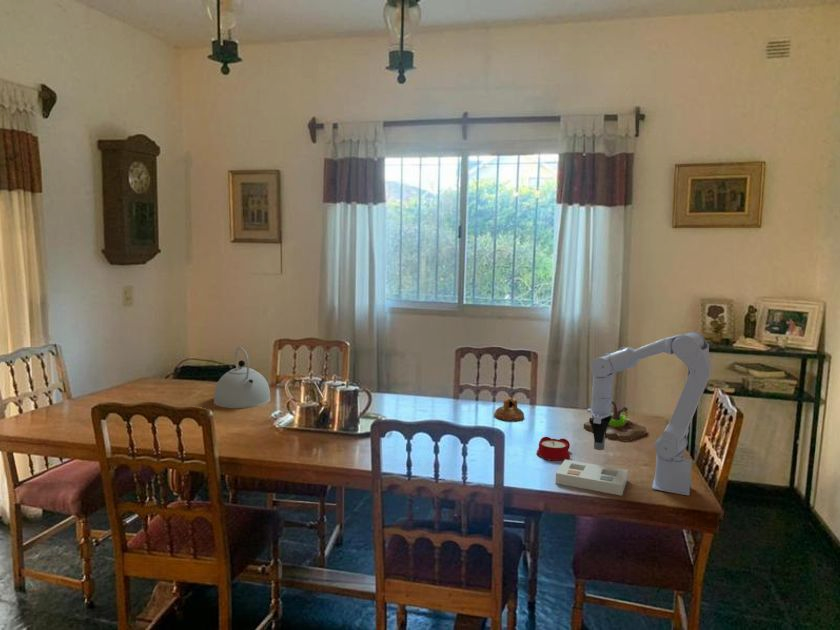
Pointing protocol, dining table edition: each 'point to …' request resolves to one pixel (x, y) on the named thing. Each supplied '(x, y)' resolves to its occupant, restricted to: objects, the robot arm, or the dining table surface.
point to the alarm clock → (553, 449)
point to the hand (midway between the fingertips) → (599, 440)
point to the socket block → (592, 477)
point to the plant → (620, 426)
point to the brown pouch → (509, 411)
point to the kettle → (241, 387)
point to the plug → (599, 445)
